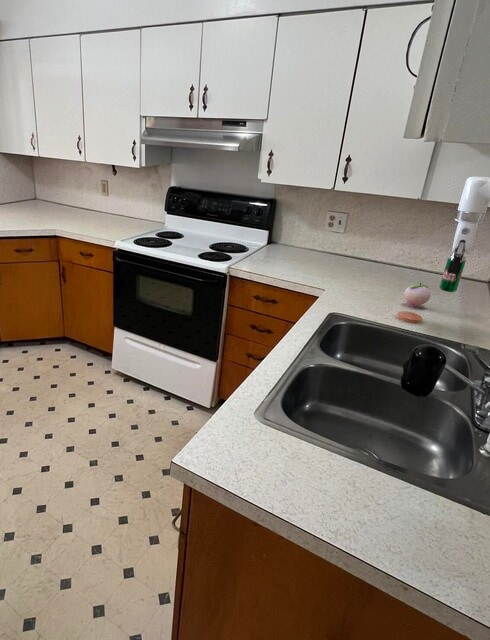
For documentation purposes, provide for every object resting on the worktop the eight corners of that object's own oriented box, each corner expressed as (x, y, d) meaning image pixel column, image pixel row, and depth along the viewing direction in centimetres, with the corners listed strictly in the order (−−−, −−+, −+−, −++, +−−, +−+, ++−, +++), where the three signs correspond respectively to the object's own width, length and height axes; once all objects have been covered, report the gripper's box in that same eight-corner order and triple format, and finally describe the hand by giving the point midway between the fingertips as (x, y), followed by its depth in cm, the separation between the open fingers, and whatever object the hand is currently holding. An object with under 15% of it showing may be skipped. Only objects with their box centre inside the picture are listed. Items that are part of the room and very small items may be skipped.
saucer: (422, 318, 158) (423, 315, 158) (419, 325, 152) (420, 321, 152) (398, 312, 163) (399, 309, 162) (395, 319, 157) (396, 315, 156)
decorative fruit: (416, 311, 164) (423, 287, 161) (397, 304, 171) (404, 280, 167) (431, 308, 168) (439, 285, 164) (412, 301, 175) (419, 278, 171)
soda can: (435, 288, 146) (445, 254, 141) (444, 286, 148) (454, 253, 143) (450, 293, 142) (461, 258, 137) (459, 291, 144) (470, 257, 139)
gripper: (484, 222, 127) (466, 280, 134) (483, 215, 140) (467, 268, 147) (454, 219, 131) (438, 275, 138) (456, 212, 144) (441, 263, 151)
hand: (453, 270), depth 142 cm, fingers closed on soda can, 5 cm apart
